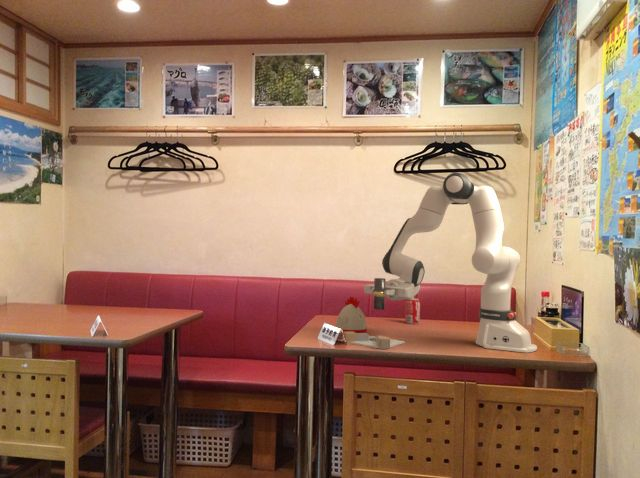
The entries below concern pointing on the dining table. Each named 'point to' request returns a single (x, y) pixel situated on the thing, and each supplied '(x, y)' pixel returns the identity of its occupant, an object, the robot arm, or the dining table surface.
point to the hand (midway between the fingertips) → (378, 291)
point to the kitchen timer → (352, 317)
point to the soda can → (412, 311)
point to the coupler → (379, 293)
